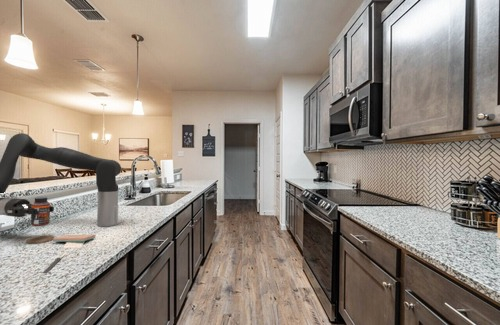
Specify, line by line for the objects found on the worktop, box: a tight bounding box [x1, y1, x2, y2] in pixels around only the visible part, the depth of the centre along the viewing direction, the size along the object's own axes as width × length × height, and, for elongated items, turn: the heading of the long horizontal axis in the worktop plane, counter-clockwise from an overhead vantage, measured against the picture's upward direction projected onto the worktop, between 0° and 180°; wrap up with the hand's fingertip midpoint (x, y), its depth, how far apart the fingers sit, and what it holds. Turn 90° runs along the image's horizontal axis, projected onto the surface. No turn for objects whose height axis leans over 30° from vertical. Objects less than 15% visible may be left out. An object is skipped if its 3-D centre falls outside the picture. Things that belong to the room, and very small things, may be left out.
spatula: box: [42, 241, 86, 274], centre depth 91 cm, size 6×29×2 cm, turn 18°
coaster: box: [25, 234, 55, 245], centre depth 107 cm, size 9×9×1 cm
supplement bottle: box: [30, 196, 51, 227], centre depth 107 cm, size 6×6×11 cm
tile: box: [52, 234, 96, 243], centre depth 107 cm, size 1×8×12 cm
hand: (44, 210), depth 106 cm, fingers closed on supplement bottle, 6 cm apart
